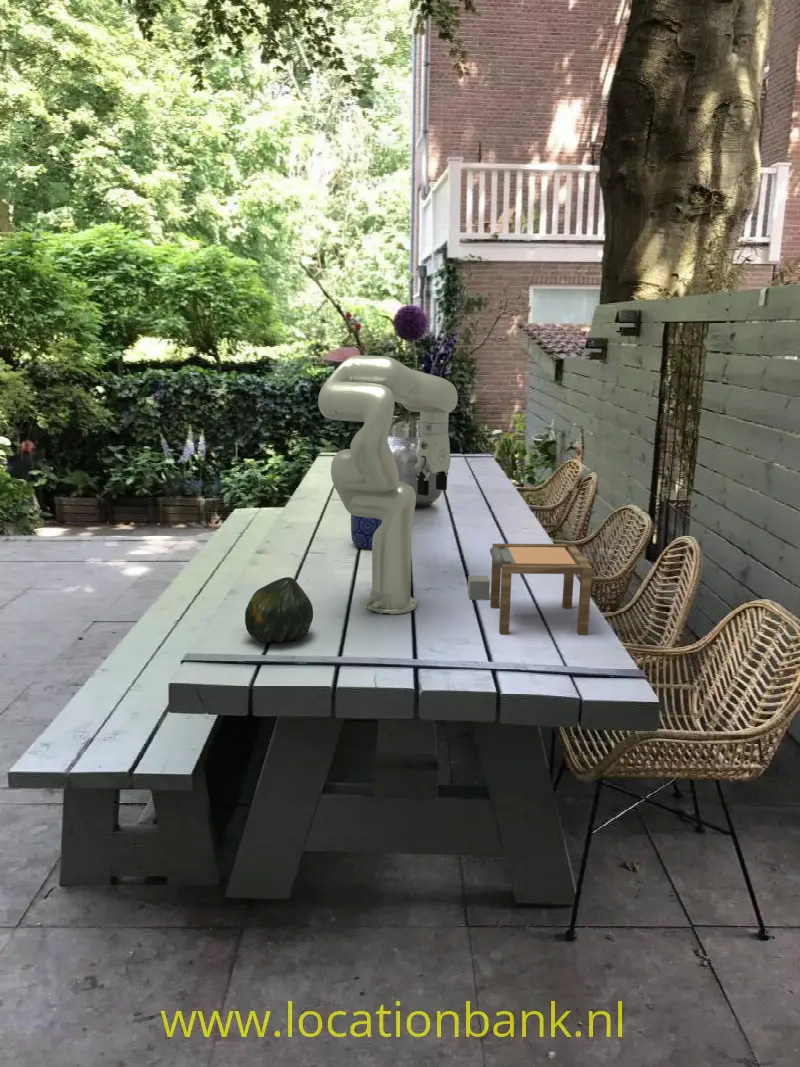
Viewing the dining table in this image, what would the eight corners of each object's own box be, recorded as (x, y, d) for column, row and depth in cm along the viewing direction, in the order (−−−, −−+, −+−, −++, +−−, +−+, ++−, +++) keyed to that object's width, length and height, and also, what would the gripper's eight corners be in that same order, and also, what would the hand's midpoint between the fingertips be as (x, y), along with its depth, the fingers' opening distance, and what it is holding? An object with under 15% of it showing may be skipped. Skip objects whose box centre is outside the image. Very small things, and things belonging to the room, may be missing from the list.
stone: (488, 600, 220) (489, 581, 219) (469, 600, 220) (470, 581, 219) (486, 593, 225) (487, 575, 224) (467, 593, 225) (468, 575, 224)
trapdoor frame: (587, 634, 197) (592, 567, 193) (500, 634, 197) (502, 567, 193) (570, 605, 216) (573, 544, 212) (490, 605, 216) (492, 543, 212)
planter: (387, 542, 273) (388, 508, 270) (383, 552, 262) (384, 516, 260) (353, 541, 274) (353, 507, 271) (348, 550, 263) (348, 515, 261)
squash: (226, 611, 194) (252, 572, 185) (279, 599, 204) (307, 562, 195) (253, 664, 189) (281, 627, 180) (307, 649, 199) (336, 613, 190)
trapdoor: (575, 571, 196) (576, 560, 196) (495, 570, 196) (496, 560, 196) (563, 554, 210) (564, 544, 209) (488, 553, 210) (489, 543, 209)
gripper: (429, 433, 220) (427, 499, 224) (461, 427, 234) (459, 489, 238) (404, 430, 224) (403, 495, 228) (437, 424, 238) (436, 486, 242)
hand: (432, 492), depth 233 cm, fingers open, 9 cm apart
